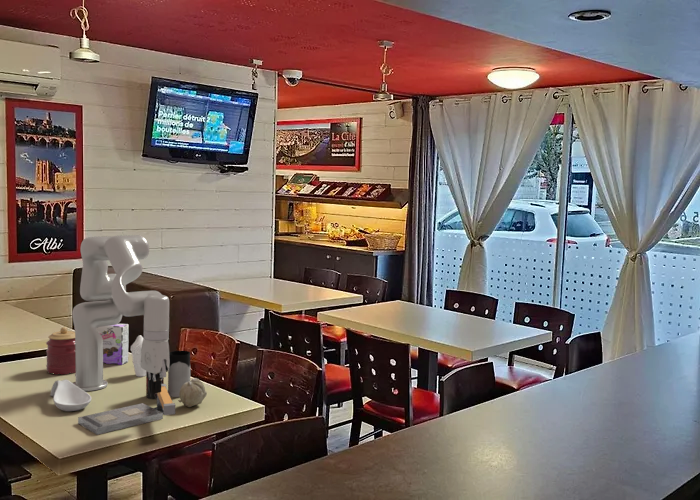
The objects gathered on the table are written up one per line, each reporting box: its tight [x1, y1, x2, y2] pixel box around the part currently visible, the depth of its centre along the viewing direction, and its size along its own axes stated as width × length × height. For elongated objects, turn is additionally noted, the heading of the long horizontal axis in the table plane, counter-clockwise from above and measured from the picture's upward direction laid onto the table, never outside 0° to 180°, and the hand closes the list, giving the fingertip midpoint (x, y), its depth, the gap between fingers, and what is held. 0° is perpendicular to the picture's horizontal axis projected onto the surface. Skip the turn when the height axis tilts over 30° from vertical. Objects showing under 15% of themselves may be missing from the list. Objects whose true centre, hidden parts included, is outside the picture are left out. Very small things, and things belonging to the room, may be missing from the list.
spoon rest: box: [50, 379, 92, 412], centre depth 231 cm, size 24×12×7 cm, turn 40°
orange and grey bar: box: [155, 383, 176, 416], centre depth 216 cm, size 4×24×3 cm, turn 22°
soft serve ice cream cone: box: [130, 334, 146, 378], centre depth 268 cm, size 8×8×16 cm
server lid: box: [77, 402, 164, 436], centre depth 216 cm, size 13×22×2 cm, turn 136°
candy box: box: [96, 323, 129, 366], centre depth 286 cm, size 14×6×16 cm, turn 80°
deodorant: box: [145, 371, 165, 400], centre depth 242 cm, size 6×6×15 cm
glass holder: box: [167, 350, 191, 398], centre depth 249 cm, size 9×14×15 cm, turn 12°
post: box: [153, 395, 165, 416], centre depth 226 cm, size 6×6×6 cm
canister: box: [45, 326, 76, 375], centre depth 271 cm, size 13×13×18 cm
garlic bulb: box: [177, 377, 208, 408], centre depth 232 cm, size 9×8×10 cm
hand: (155, 392), depth 212 cm, fingers closed
